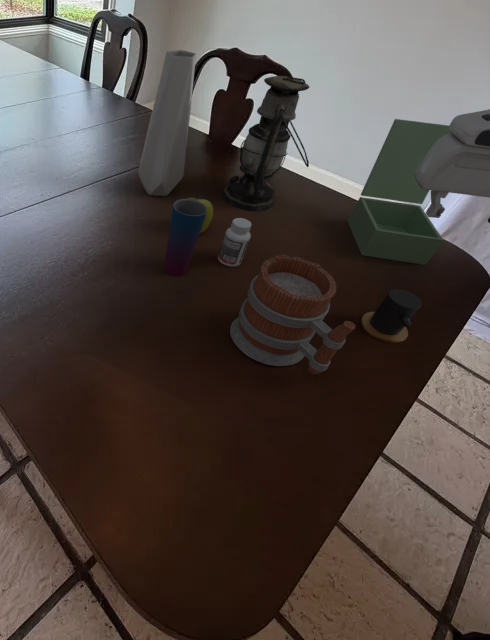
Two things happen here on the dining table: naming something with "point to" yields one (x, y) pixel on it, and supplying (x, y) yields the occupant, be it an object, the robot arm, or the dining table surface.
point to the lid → (403, 161)
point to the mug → (289, 315)
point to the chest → (393, 231)
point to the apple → (208, 215)
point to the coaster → (387, 338)
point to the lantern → (266, 146)
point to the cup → (183, 234)
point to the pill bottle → (235, 242)
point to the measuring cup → (395, 312)
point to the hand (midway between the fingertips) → (462, 219)
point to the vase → (168, 125)
